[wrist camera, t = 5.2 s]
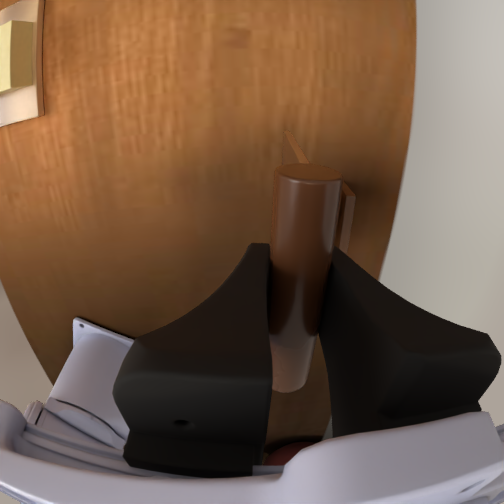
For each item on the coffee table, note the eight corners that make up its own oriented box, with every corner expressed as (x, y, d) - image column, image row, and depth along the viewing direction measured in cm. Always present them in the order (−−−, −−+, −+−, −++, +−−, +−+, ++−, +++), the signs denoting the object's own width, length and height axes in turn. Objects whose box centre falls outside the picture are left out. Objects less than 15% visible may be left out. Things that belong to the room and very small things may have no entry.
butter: (33, 22, 13) (11, 19, 11) (32, 84, 16) (10, 88, 14) (10, 31, 13) (-11, 31, 11) (10, 92, 16) (-12, 96, 14)
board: (45, -8, 13) (39, -9, 12) (44, 115, 18) (38, 116, 17) (-15, 22, 13) (-21, 22, 12) (-13, 130, 18) (-19, 133, 17)
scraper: (305, 131, 15) (351, 183, 7) (293, 273, 19) (309, 393, 11) (267, 130, 15) (276, 178, 7) (262, 272, 19) (262, 393, 11)
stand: (343, 180, 20) (356, 196, 18) (336, 234, 22) (346, 256, 20) (311, 178, 20) (319, 193, 18) (306, 233, 22) (312, 255, 20)
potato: (269, 502, 33) (267, 473, 39) (343, 484, 33) (334, 457, 39) (255, 470, 32) (254, 441, 38) (337, 451, 32) (327, 423, 38)
